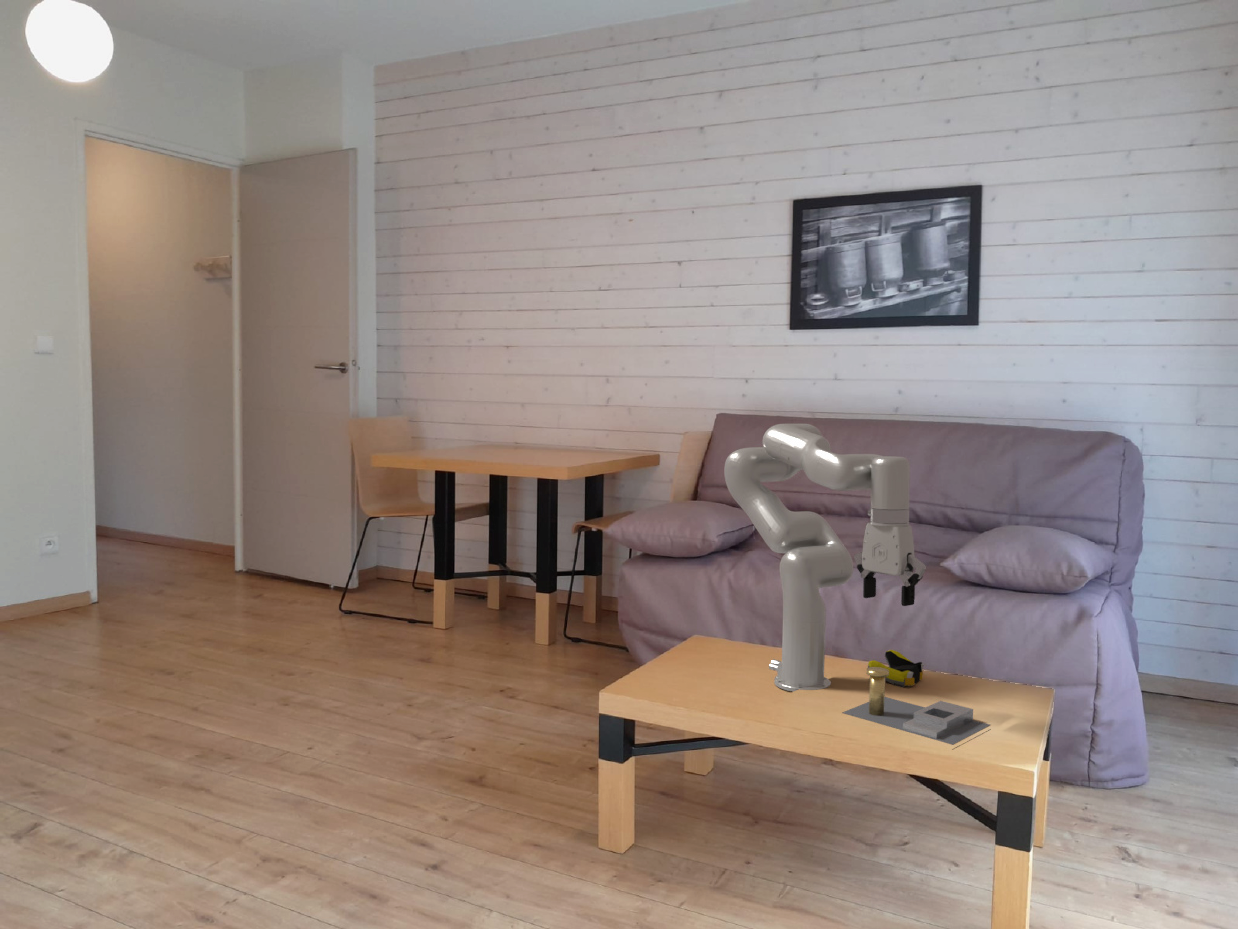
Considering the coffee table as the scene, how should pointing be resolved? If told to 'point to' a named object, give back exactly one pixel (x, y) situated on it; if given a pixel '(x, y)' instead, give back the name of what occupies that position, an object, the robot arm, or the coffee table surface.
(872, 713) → the pin
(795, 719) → the coffee table surface
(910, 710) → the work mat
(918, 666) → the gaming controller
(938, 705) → the grey slotted housing block
